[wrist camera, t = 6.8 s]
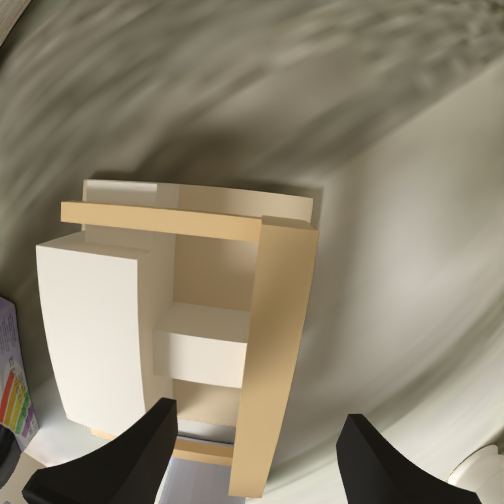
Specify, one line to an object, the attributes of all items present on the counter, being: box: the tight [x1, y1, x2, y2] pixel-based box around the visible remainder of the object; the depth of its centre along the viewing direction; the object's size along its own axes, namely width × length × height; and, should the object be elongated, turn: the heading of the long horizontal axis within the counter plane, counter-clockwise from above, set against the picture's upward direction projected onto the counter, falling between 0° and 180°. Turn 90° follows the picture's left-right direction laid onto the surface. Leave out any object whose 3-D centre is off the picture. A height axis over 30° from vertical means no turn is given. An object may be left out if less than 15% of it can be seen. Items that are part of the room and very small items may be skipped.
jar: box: [448, 445, 504, 504], centre depth 17 cm, size 11×10×15 cm
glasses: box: [61, 201, 319, 498], centre depth 14 cm, size 12×16×4 cm
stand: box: [36, 179, 314, 436], centre depth 17 cm, size 15×18×7 cm
